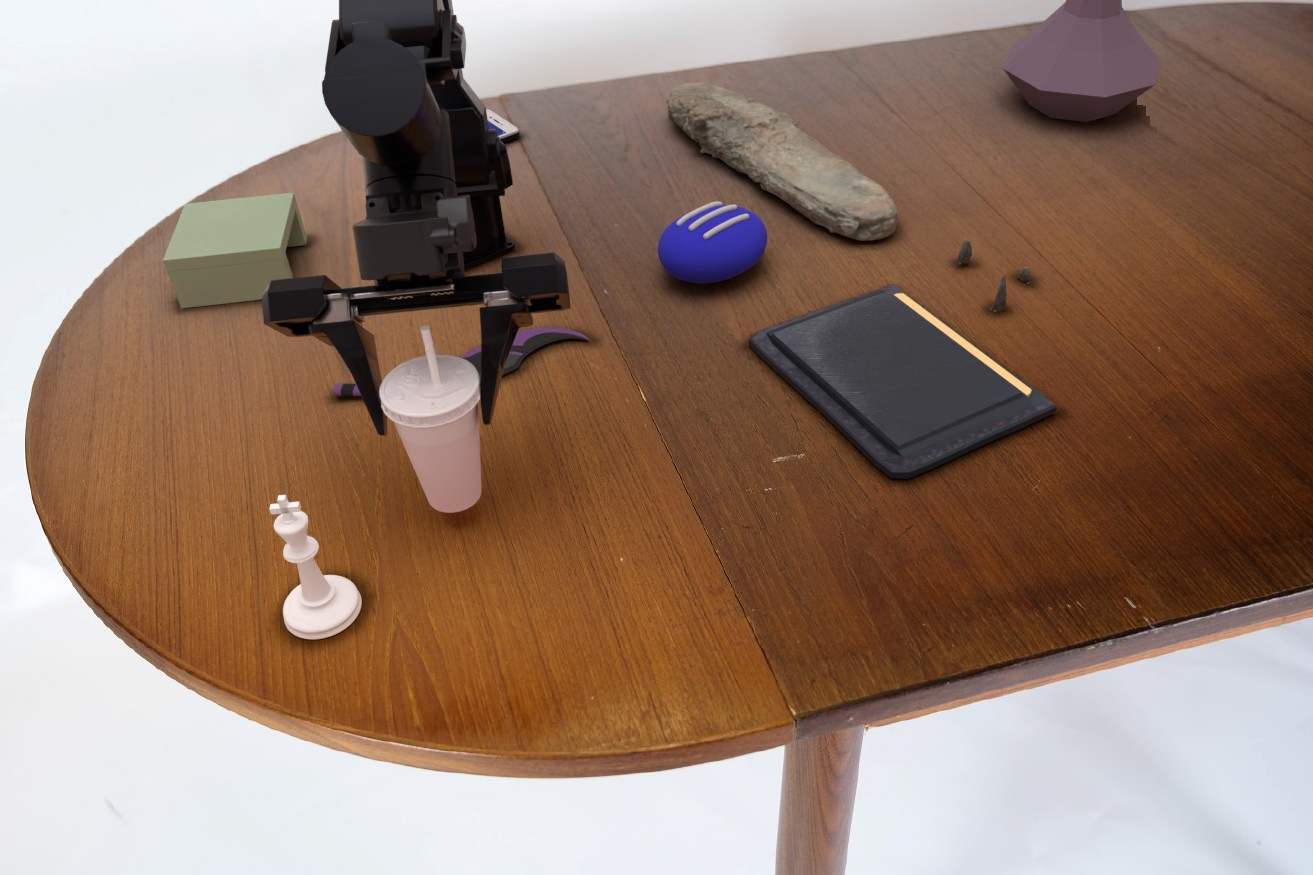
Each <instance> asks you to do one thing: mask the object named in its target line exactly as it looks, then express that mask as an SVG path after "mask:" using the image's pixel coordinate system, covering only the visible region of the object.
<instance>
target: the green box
mask: <svg viewBox="0 0 1313 875" xmlns="http://www.w3.org/2000/svg"><path fill="white" fill-rule="evenodd" d="M307 242H308V236H307V233H306V229H305V226H304V222H303V219H302V215H301V212H300V208H299V206H298V202H297V198H296V195H295V192H285V193H284V192H283V193H274V194H265V195H255V196H248V197H246V196H245V197H237V198H227V199H218V200H208V201H200V202H199V201H198V202H190V203H184V205H183V208H182V210H181V212H180V215H179V218H178V221H177V223H176V226H175V228H174V231H173V233H172V236H171V239H170V241H169V244H168V246H167V249H166V251H165V253H164V256H163V258H162V263H163V265H164V267H165V270H166V272H167V275H168V277H169V280H170V282H171V285H172V288H173V291H174V293H175V295H176V298H177V301H178V303H179V306H180V308H181V309H189V308H197V307H198V308H199V307H208V306H217V305H224V304H225V305H226V304H235V303H245V302H252V301H262V295H263V292H264V290H265V288H266V287H267V285H268V284H269V282H270V281H271V280H280V279H290V278H294V276H293V272H292V269H291V265H290V263H289V259H288V257H287V253H286V251H287V248H291V247H293V248H294V247H301V246H306V245H307Z"/></svg>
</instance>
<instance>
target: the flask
mask: <svg viewBox="0 0 1313 875" xmlns="http://www.w3.org/2000/svg"><path fill="white" fill-rule="evenodd" d="M1159 66H1160V58H1159V57H1158V56H1157V55H1156V54H1155V52H1154V51H1153V49H1152V48H1151V47H1150V45H1148V43H1147V42H1146V41H1145V39H1144V38H1143V37H1142V35H1141V34H1140V33H1139V32H1138V30H1137V28H1136V27H1135V25H1134V24H1133V22H1132V20H1131V19H1130V17H1129V16H1128V14H1127V12H1126V11H1125V9H1124V7H1123V1H1122V0H1065V2H1063V3H1062V5H1060V6H1059V7H1057V9H1056V10H1055V11H1054V12H1052V13H1051V14H1050V15H1049V16H1048V17H1046V19H1045V20H1044V21H1043V22H1042V23H1040V24H1038V25H1037V26H1036V27H1035V28H1033V29H1032V30H1031V31H1029V32H1028V33H1027V34H1026V35H1024V36H1023V37H1022V38H1020V39H1019V40H1017V41H1016V42H1015V43H1013V44H1012V45H1011V48H1010V50H1009V52H1008V55H1007V57H1006V58H1005V62H1004V65H1003V66H1002V69H1003V71H1004V73H1006V75H1007V77H1008V78H1009V79H1010V80H1011V82H1012V83H1013V85H1014V86H1015V87H1016V89H1017V90H1018V92H1020V94H1021V95H1022V97H1023V98H1024V100H1025V101H1026V102H1027V104H1028V105H1029V106H1031V107H1032V108H1034V109H1035V110H1037V111H1039V112H1040V113H1042V114H1044V115H1045V116H1047V117H1048V118H1050V119H1057V120H1066V121H1076V122H1085V123H1087V122H1091V121H1096V120H1099V119H1103V118H1106V117H1110V116H1114V115H1115V114H1117V113H1118V112H1120V111H1121V110H1122V109H1124V108H1125V107H1127V106H1128V105H1129V104H1131V103H1132V102H1133V101H1135V100H1136V99H1137V98H1139V97H1140V96H1142V95H1143V94H1145V93H1146V92H1147V91H1149V90H1150V89H1151V88H1152V87H1154V86H1156V84H1157V80H1158V79H1157V78H1158V72H1159Z"/></svg>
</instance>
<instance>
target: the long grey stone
mask: <svg viewBox="0 0 1313 875" xmlns="http://www.w3.org/2000/svg"><path fill="white" fill-rule="evenodd" d="M666 104H667V116H668V118H669V120H670V121H674V123H675V124H676V126H678V127H679V128H680V129H681V130H682V131H683V132H684V133H685V134H686V136H687V137H689V138H690V139H692V140H694V142H695V143H698V146H699V148H701V149H700V153H701V154H708V155H711V158H714V159H720V160H721V161H722V162H724V163H725V164H726V165H727V166H729V167H730V168H732V169H734V170H736V172H738V173H742V174H745V175H747V176H748V178H750V179H751V180H752V181H753V182H754V183H759V187H760V188H761V190H763V191H765V192H766V191H767V192H768V193H770V194H771V195H775V196H776V197H777V198H779V199H781V200H782V201H783V202H785V203H786V204H788V205H789V206H790V207H791V208H793V209H794V210H796V211H797V212H798V213H799V214H802V215H803V216H804V217H806V218H807V219H808V220H810V221H811V222H813V224H815V225H817V226H821V227H823V228H826V229H827V230H829V232H830V233H836V234H838V235H841V236H842V237H846V238H850V239H852V240H856V241H859V242H860V241H863V242H864V241H866V242H867V241H870V242H871V241H876V240H882V239H884V238H888V237H890V236H891V235H893V234H894V233H895V231H896V229H897V226H898V223H899V210H898V207H897V206H896V203H895V201H894V199H893V198H892V197H891V194H890V193H889V191H887V190H886V189H885V187H884V186H882V185H881V184H880V183H879V182H877V181H875V180H873V179H871V178H869V177H867V176H866V175H864V174H863V173H862V172H861V171H860V170H859V169H857V168H856V167H855V166H854V165H853V164H852V163H850V162H848V161H847V160H845V159H843V158H842V156H840V155H837V154H835V153H833V152H831V151H830V150H829V149H828V148H826V147H825V146H823V145H822V144H821V143H819V142H818V141H817V140H816V139H815V138H814V137H813V136H811V135H809V134H807V133H805V132H804V131H802V130H801V129H800V128H799V127H798V123H797V122H795V121H794V120H793V119H792V118H791V116H790V115H789V113H787V112H784V111H778V110H777V109H775V108H774V107H771V106H768V105H767V104H766V103H765V102H762V101H760V100H757V99H756V97H751V96H750V97H747V95H745V94H742V93H739V92H736V91H733V90H730V89H727V88H725V87H721V86H718V85H716V84H712V83H708V82H701V81H700V82H689V83H683V84H679V85H677V86H676V87H674V88H673V89H672V91H671V92H670V93H669V96H668V97H667V99H666Z"/></svg>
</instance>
